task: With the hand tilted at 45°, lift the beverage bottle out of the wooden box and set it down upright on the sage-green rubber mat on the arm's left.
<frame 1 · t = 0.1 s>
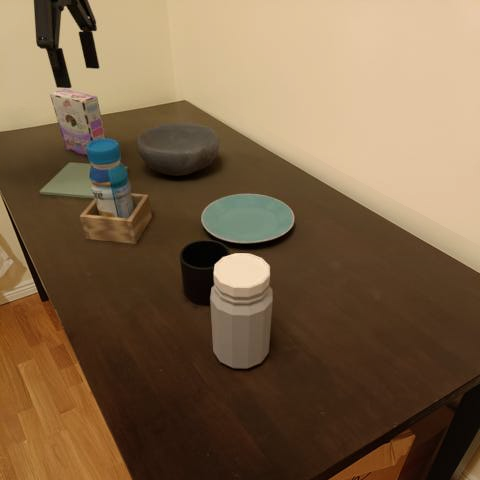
hand: (79, 77, 87), 30 cm above the table, tool pointing down, fingers open, 13 cm apart
bowl: (180, 169, 125), on the table
mug: (205, 287, 87), on the table
plate: (247, 226, 104), on the table
jar: (241, 351, 75), on the table
beverage bottle: (120, 228, 103), resting in wooden box
mat: (86, 181, 120), on the table
candy box: (87, 151, 134), on the table
wooden box: (120, 227, 103), on the table
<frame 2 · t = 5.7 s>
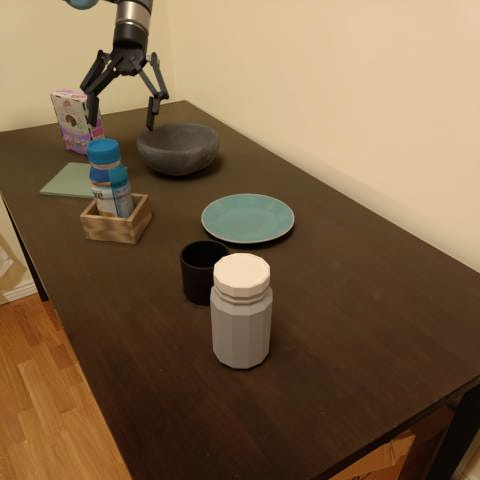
hand: (120, 126, 96), 20 cm above the table, tool tilted 45°, fingers open, 13 cm apart
nothing on the table moved.
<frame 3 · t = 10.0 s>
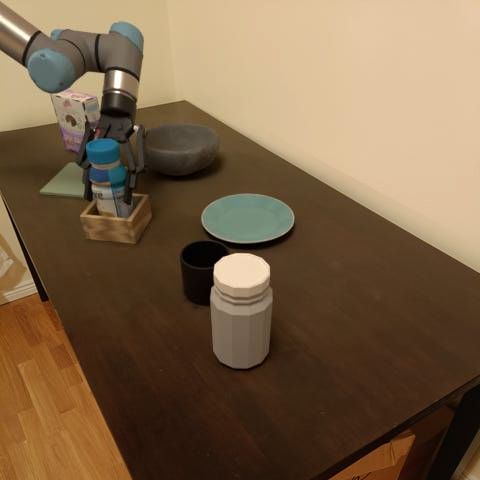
hand: (107, 201, 94), 9 cm above the table, tool tilted 45°, fingers closed on beverage bottle, 8 cm apart
beverage bottle: (120, 228, 103), resting in wooden box, touching gripper
everything else where it was.
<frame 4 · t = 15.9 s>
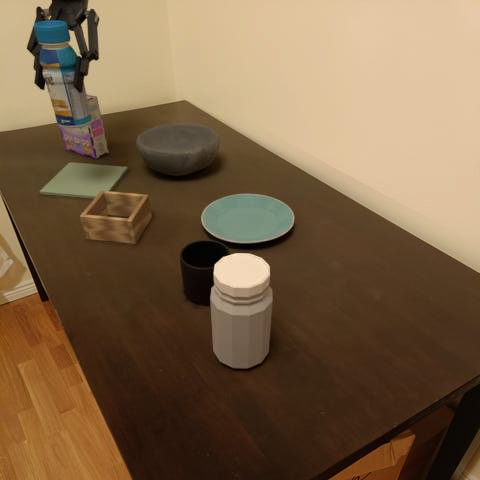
hand: (58, 87, 94), 27 cm above the table, tool tilted 45°, fingers closed on beverage bottle, 8 cm apart
beverage bottle: (75, 123, 103), point 18 cm above the table, touching gripper
everything else where it was.
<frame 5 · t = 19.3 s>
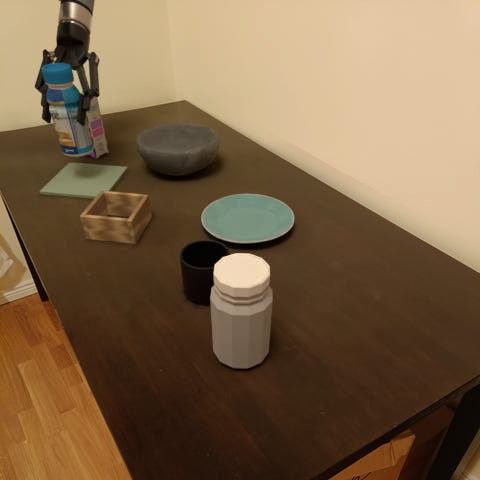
hand: (63, 121, 105), 17 cm above the table, tool tilted 45°, fingers closed on beverage bottle, 8 cm apart
beverage bottle: (78, 151, 114), point 8 cm above the table, touching gripper
everything else where it was.
when the fingers open (9 cm above the table, at t = 21.9 s): beverage bottle stays where it is, resting on mat.
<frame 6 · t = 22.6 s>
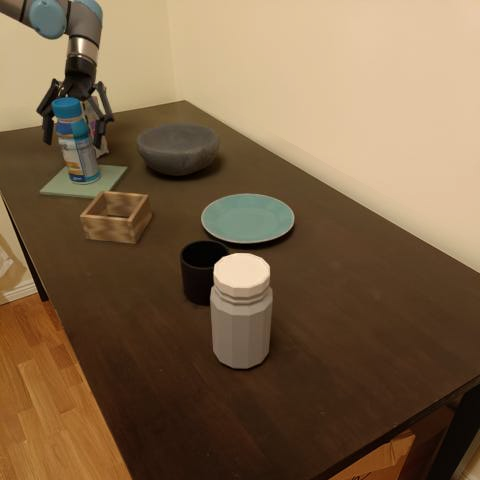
hand: (71, 145, 110), 11 cm above the table, tool tilted 45°, fingers open, 13 cm apart
beverage bottle: (85, 179, 119), point 1 cm above the table, touching mat
everything else where it was.
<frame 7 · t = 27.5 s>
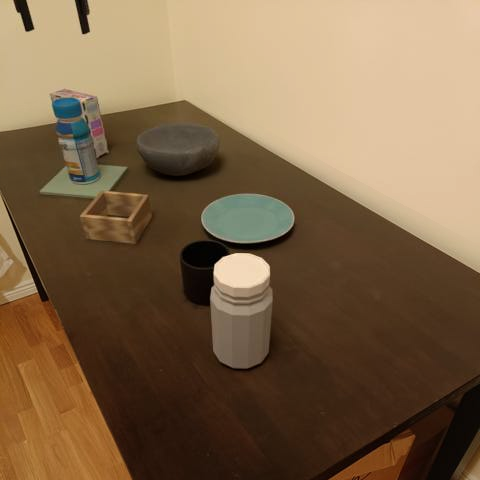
hand: (58, 32, 97), 35 cm above the table, tool pointing down, fingers open, 13 cm apart
nothing on the table moved.
at the end: beverage bottle inside the target area on the mat (0.1 cm from its centre), point 0.6 cm above the mat's base; beverage bottle tilted 0°; the gripper is holding nothing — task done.
